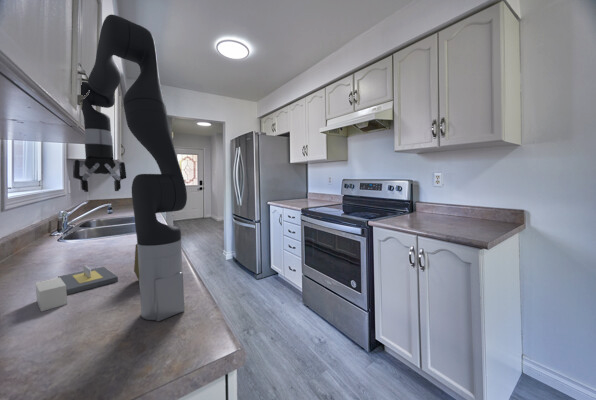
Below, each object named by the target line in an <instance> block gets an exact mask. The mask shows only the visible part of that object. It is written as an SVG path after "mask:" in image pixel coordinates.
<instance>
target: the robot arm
mask: <svg viewBox="0 0 596 400" xmlns="http://www.w3.org/2000/svg"><path fill="white" fill-rule="evenodd" d="M99 33H100V34H99V38H98V43H97V47H96V48H97V49H96V55H95V61H94V65H93V68H92V69H91V72H90V73H89V76H88V78H87V81H83V80H82V81H83V82H82V85H81V95H83V96H84V95H86V93H87V92H88V90H90V93H89V95H88V96H87V97H86V98H85V99H84V100H83V107H82V109H81V112H82V116H83V122H84V123H83V126H84V136H83V138H84V140H83V143H84V149H85V150H84V151H85V160H84V161H83V160H78V159H75V160H73V161H72V168H73V169H72V172H73V173H72V174H73V175H72V177H73V179H76V180H80V184H81V185H80V186H81V187H80V188H81V190H82V191H84V193H87V192H89V182H88V180H87V179H89V178H90V177H91V175H92V174H94V175H99V174H102V175H109V176H111V177H112V179H114V181H113V182H114V183H113V185H114V186H113V187H114V192H120V190H121V182H122V180H125V179H127V171H126V165H125V162H124V161H123V162H122V161H121V162H115V159H114V147H113V144H114V143H113V135H112V126H111V125H112V124H111V117H110V116H109V115H108V114H105V113H104V112H101V111H98V110H96V109H95V108H94V107H99V108H105V109H108V108H112V107H114V105H115V103H116V95H115V94H116V90H117V89H118V87H119V86H120V84H121V82H122V72H121V70H120V68H119V66H118V64H117V62H116V60H115V58H114V56H115V57H117V58H120V59H123V60H127V61H130V62H132V63H134V64H135V63H136V64H137V65H138V66H139V69H140V71H139V72H140V74H139V75H138V76H137V78H136V80H135V81H134V82H133V83H132V85H131V86H130V87H129V88H128V89H127V91H126V92H125V94H124V97H123V109H124V115H125V119H126V125H127V127H128V129H129V131H130V132H131V134H132V135H133V136H134V137H135V139H136V140H137V141H138V142H139V144H141V146H143V148H145V150H147V152H149V154H150V155H151V156H152V157H153V159H154V160H155V162H156V164H157V166H158V168H159V172H160V173H140V174H137V175H135V176H134V178H133V180H132V184H131V199H132V207H133V216H134V227H135V233H136V242H137V243H136V244H137V246H138V266H139V280H138V283H139V285H138V286H139V301H140V313H141V314H140V316H141V318H142V319H144V320H147V321H148V320H149V321H156V322H160V321H162V320H165V319H168V318H170V317H172V316H174V315H177V314H180V313H183V312H185V290H184V273H183V256H182V255H183V253H182V252H183V250H182V248H183V247H182V233H181V232H182V231H181V228H179V227H178V226H175V225H171V224H170V225H169V224H166V223H162V222H161V221H158V219H157V214H159V213H170V212H171V213H172V212H178V211H182V210H183V209H185V207H186V206H187V205H186V204H187V202H188V195H187V194H188V192H187V187H186V182H185V179H184V176H183V173H182V168H181V165H180V163H179V159H178V157H177V154H176V150H175V147H174V142H173V137H172V133H171V132H172V131H171V127H170V120H169V116H168V111H167V106H166V103H165V100H164V96H163V91H162V85H161V81H160V74H159V66H158V59H157V58H158V57H157V56H158V55H157V48H156V43H155V38H154V36H153V34H152V32H151V30H149V29H147V28H146V27H144V26H142V25H140V24H138V23H135V22H133V21H131V20H128V19H126V18H125V17H122V16H119V15H116V14H108V15H107V16H106V17H105V18H104V20H103V22H102V25H101V29H100V32H99ZM83 165H84V166H85V167H86V168H87V170H86V171H85V172H84V174H82V175H80V170H81V169H80V168H82V167H83ZM115 167H116V168H117V169H118V170H119V175H118V173H117V172H116V171H115V169H114V168H115Z"/></svg>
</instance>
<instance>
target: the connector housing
mask: <svg viewBox="0 0 596 400" xmlns="http://www.w3.org/2000/svg"><path fill="white" fill-rule="evenodd" d="M34 285H35V295H36V302H37V305H38V307H39V310H40V312H44V311H48V310H52V309H56V308H58V307H62V306H66V305H68V295H67V292H66V285H65V283H64V282H63V281H62V279H61V278H58V277H55V278H51V279H47V280H42V281H36V282H35V283H34Z"/></svg>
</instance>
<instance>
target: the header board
mask: <svg viewBox="0 0 596 400" xmlns="http://www.w3.org/2000/svg"><path fill="white" fill-rule="evenodd" d="M82 269H83V270H82V271H78V272H77V271H76V272H73V273H68V274H63V275H58V276H57V278H61V279H62V281H63V282H64V283H65V285H66V292H67V296H68V295H72V294H75V293H79V292H82V291H86V290H90V289H93V288H98V287H102V286H106V285H109V284H110V285H111V284H113V283H117V282H119V277H118V276H117V275H116V274H114V273H113V272H112V271H111V270H109V269H108V268H106V267H104V266H101V267H96V268H90V267H89V266H88V265H83V268H82Z"/></svg>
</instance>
